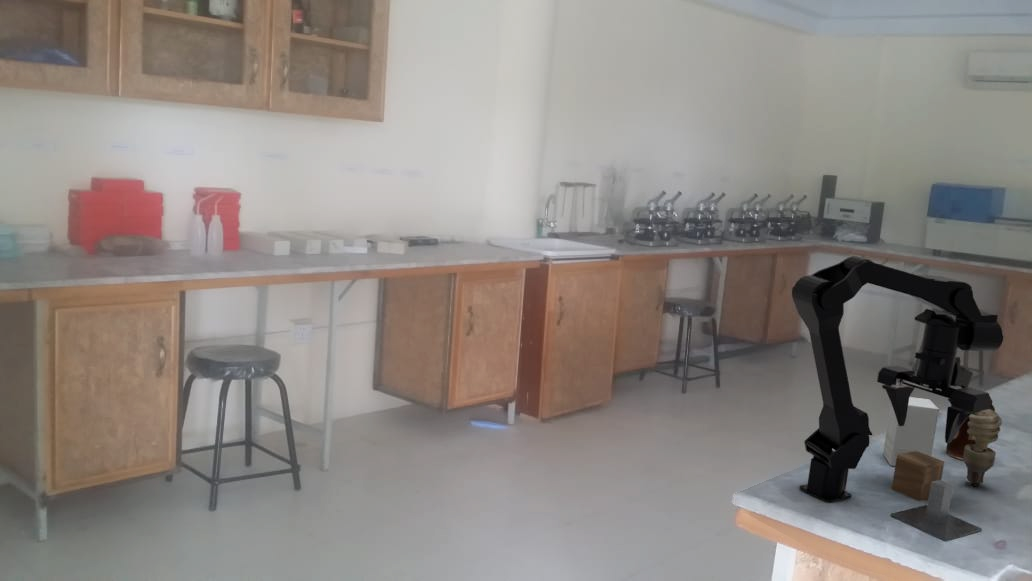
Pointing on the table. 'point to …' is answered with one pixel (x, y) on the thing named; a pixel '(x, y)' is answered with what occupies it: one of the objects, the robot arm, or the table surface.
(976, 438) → the light bulb
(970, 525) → the gray square base stand
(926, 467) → the cardboard carton
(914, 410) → the supplement box
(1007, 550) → the table surface
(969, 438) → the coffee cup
